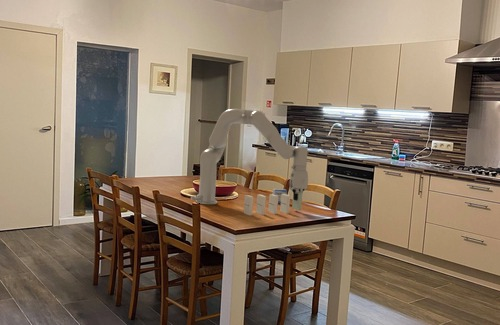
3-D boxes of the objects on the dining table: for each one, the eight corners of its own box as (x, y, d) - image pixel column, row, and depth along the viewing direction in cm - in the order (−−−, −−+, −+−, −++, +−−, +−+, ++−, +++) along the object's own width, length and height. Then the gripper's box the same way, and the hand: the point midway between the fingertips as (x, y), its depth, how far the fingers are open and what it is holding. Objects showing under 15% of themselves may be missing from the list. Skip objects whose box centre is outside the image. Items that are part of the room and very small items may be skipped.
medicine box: (273, 203, 301) (274, 189, 300) (271, 202, 305) (272, 188, 304) (285, 203, 302) (287, 190, 302) (284, 202, 307) (285, 188, 306)
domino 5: (298, 210, 277) (299, 192, 276) (292, 208, 282) (293, 190, 281) (301, 210, 278) (302, 192, 277) (294, 207, 283) (296, 190, 282)
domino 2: (261, 214, 265) (263, 196, 264) (255, 212, 270) (257, 194, 269) (264, 214, 266) (266, 196, 265) (259, 212, 271) (260, 194, 270)
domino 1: (248, 215, 260) (250, 196, 259) (243, 213, 266) (244, 194, 265) (252, 215, 261) (253, 196, 260) (246, 212, 267) (247, 194, 266)
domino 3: (273, 214, 269) (275, 196, 268) (268, 211, 274) (269, 194, 273) (277, 213, 270) (278, 196, 269) (271, 211, 275) (272, 194, 274)
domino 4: (285, 213, 273) (287, 195, 272) (279, 211, 278) (281, 193, 277) (288, 213, 274) (290, 195, 273) (282, 211, 279) (284, 193, 278)
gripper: (292, 169, 270) (289, 201, 272) (314, 169, 278) (312, 200, 280) (284, 167, 277) (282, 199, 278) (306, 167, 285) (304, 198, 286)
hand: (297, 199), depth 279 cm, fingers closed on domino 5, 1 cm apart
